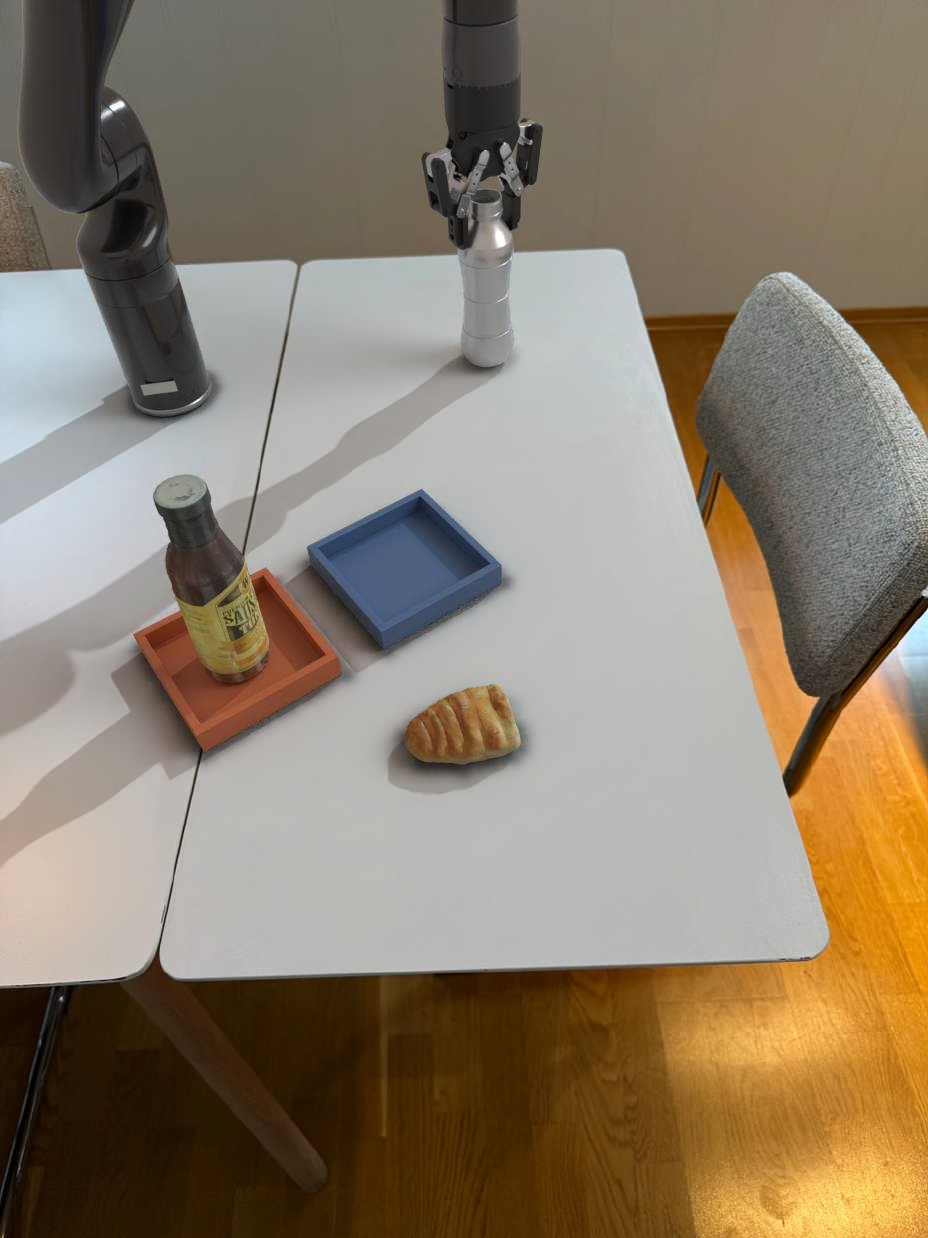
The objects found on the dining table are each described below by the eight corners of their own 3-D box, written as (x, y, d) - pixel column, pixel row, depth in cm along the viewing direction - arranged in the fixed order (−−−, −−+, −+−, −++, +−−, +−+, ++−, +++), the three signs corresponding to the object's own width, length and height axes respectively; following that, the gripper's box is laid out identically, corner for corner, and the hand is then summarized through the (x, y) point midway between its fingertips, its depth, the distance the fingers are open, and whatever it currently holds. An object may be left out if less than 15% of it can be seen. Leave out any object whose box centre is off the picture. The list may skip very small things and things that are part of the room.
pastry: (418, 786, 73) (414, 761, 70) (396, 721, 77) (391, 695, 74) (526, 753, 75) (527, 727, 72) (499, 690, 79) (498, 664, 76)
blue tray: (310, 564, 89) (306, 546, 87) (423, 506, 94) (421, 488, 92) (383, 650, 82) (380, 632, 80) (502, 582, 87) (502, 564, 85)
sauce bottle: (259, 692, 79) (200, 530, 64) (193, 682, 80) (119, 520, 65) (283, 635, 83) (233, 469, 68) (220, 626, 84) (156, 461, 69)
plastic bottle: (523, 352, 112) (527, 189, 96) (495, 380, 108) (494, 216, 93) (479, 337, 114) (476, 176, 99) (450, 364, 110) (442, 202, 95)
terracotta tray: (141, 651, 83) (132, 633, 81) (271, 584, 88) (266, 566, 86) (204, 752, 76) (196, 735, 74) (342, 673, 81) (338, 656, 79)
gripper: (517, 39, 91) (515, 204, 104) (397, 75, 86) (412, 244, 98) (564, 59, 87) (557, 229, 99) (442, 99, 82) (451, 272, 94)
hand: (485, 236), depth 99 cm, fingers closed on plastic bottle, 6 cm apart
